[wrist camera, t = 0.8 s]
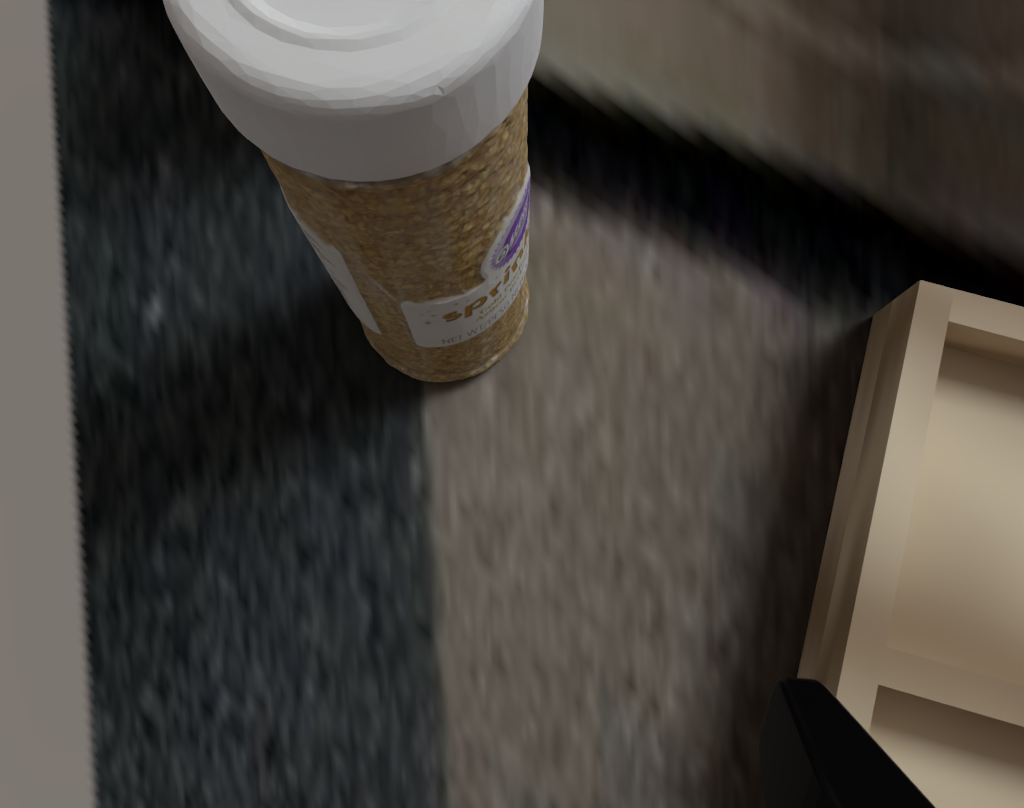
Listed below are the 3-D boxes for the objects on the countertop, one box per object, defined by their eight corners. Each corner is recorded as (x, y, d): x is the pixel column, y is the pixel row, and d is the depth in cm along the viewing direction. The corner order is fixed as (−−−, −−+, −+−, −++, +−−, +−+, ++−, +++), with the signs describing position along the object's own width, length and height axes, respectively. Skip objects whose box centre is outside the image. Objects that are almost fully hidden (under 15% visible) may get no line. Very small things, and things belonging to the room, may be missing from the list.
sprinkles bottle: (519, 395, 22) (521, 127, 9) (345, 374, 22) (99, 82, 9) (539, 230, 23) (567, -230, 10) (372, 210, 23) (184, -267, 10)
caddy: (1130, 1162, 19) (1231, 1258, 16) (722, 1032, 19) (754, 1104, 17) (1224, 408, 22) (1320, 384, 19) (873, 315, 23) (920, 280, 20)
